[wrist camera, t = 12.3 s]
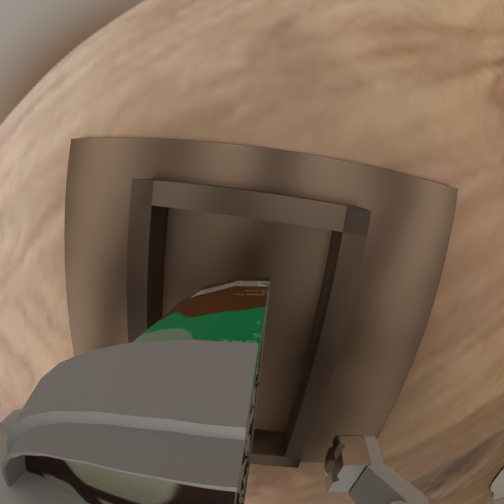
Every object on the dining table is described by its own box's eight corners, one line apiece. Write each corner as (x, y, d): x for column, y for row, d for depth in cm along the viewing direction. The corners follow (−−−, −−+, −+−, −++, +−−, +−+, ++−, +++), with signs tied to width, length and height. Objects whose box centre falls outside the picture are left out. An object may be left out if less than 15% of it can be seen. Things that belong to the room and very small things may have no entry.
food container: (127, 227, 12) (-90, 312, 3) (273, 239, 12) (240, 457, 2) (148, 436, 15) (81, 566, 5) (251, 456, 14) (226, 609, 5)
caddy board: (449, 188, 16) (480, 191, 12) (361, 453, 21) (368, 483, 17) (79, 140, 17) (47, 135, 14) (91, 406, 22) (73, 429, 19)
